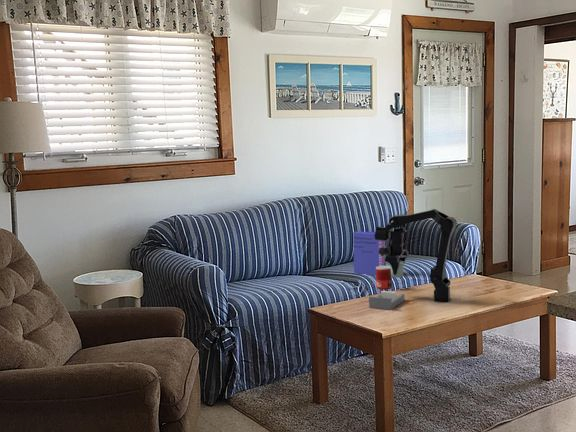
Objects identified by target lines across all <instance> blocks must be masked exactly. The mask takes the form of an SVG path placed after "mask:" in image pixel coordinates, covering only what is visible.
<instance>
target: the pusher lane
mask: <svg viewBox="0 0 576 432" xmlns="http://www.w3.org/2000/svg"><path fill="white" fill-rule="evenodd" d="M405 300H406V299H405V293H401V294H399V295H397V298H395V299H394V300H392V298H382V297H381V293H380V294H379V295H377V296H369V297H368V308H370V309H378V310H389V311H391V310H393V309H394V308H395V307H397V306H398V305H399V304H401V303H402V302H403V301H405Z"/></svg>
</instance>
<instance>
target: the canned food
mask: <svg viewBox="0 0 576 432" xmlns="http://www.w3.org/2000/svg"><path fill="white" fill-rule="evenodd" d="M392 278H393V277H391V265H390V266H389V265H386V266H377V267H376V276H375V285H376V289H377V290H381V291H389V290H391V289H392V287H393V279H392Z"/></svg>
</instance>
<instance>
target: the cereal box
mask: <svg viewBox="0 0 576 432" xmlns="http://www.w3.org/2000/svg"><path fill="white" fill-rule="evenodd" d="M374 234H375V231H359V230H358V231H354V232H353V233H352V235H353V236H352V239H353V272H354V273H357V274H356V275H361V274H366V275H365V276H373V277H376V267H377V266H387V262H385V257H386V256H387V254H385V255H383V256H381V255H380V254H379V248H382V247H384V248H386V241H376V240H375V236H374Z"/></svg>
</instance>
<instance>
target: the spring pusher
mask: <svg viewBox="0 0 576 432" xmlns="http://www.w3.org/2000/svg"><path fill="white" fill-rule="evenodd" d="M380 294H381V297H382V298H392V300H394V299H395V298H397V297H398V291H396V292H395V291H388V290H381V291H380Z"/></svg>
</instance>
